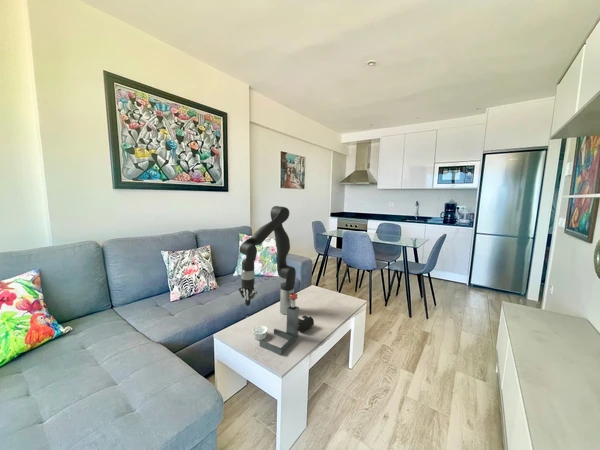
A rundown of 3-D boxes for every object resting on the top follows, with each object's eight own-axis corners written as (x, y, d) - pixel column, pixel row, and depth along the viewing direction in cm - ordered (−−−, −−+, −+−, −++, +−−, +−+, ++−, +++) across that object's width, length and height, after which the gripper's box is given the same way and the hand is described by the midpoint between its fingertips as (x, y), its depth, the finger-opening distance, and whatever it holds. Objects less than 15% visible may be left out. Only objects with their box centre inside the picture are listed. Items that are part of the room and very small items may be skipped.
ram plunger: (291, 310, 143) (292, 292, 141) (298, 312, 141) (298, 294, 139) (287, 313, 139) (288, 294, 138) (294, 315, 137) (294, 296, 136)
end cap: (303, 334, 145) (303, 324, 144) (294, 329, 150) (295, 319, 149) (313, 328, 152) (314, 318, 151) (305, 323, 157) (305, 313, 156)
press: (279, 329, 149) (280, 301, 147) (299, 336, 142) (300, 307, 140) (259, 345, 133) (259, 315, 130) (281, 355, 126) (281, 322, 123)
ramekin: (249, 337, 140) (249, 330, 139) (259, 330, 148) (259, 323, 147) (260, 343, 135) (260, 335, 135) (270, 335, 143) (270, 328, 142)
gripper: (261, 277, 141) (260, 305, 144) (243, 273, 148) (243, 300, 150) (252, 281, 135) (252, 310, 137) (234, 276, 141) (234, 304, 144)
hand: (247, 305), depth 144 cm, fingers closed
